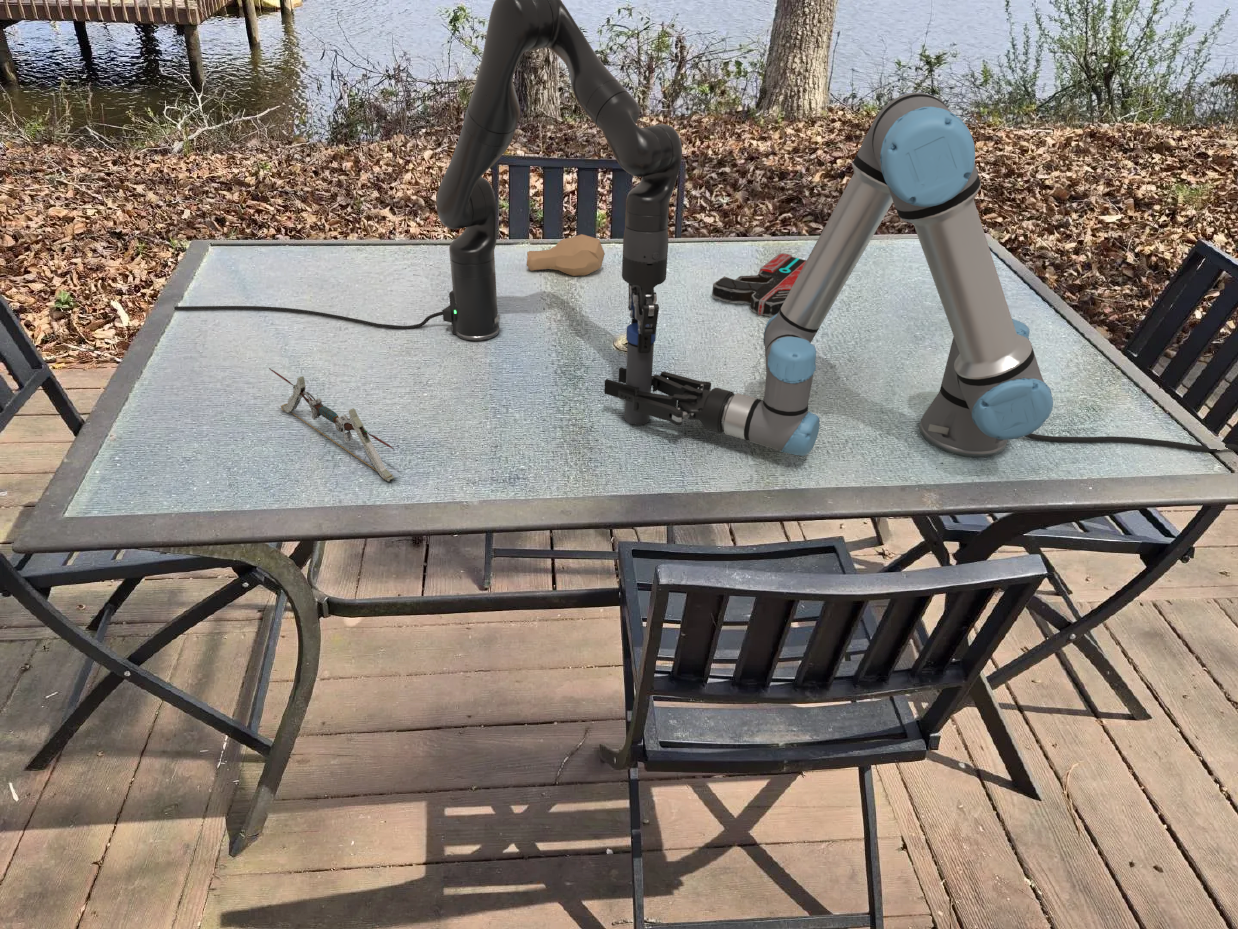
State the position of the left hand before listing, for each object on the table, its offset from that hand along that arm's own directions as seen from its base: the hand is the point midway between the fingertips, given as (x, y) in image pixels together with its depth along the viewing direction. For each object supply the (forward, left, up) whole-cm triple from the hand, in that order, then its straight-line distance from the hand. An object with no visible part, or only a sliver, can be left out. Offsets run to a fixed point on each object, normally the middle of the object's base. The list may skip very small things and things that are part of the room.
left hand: (640, 344), depth 155 cm
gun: (+9, +71, -15) cm, 73 cm away
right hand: (-5, +1, -9) cm, 10 cm away
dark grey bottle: (0, 0, -15) cm, 15 cm away
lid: (0, 0, +3) cm, 3 cm away
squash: (-42, +62, -15) cm, 76 cm away
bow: (-46, -29, -15) cm, 57 cm away
